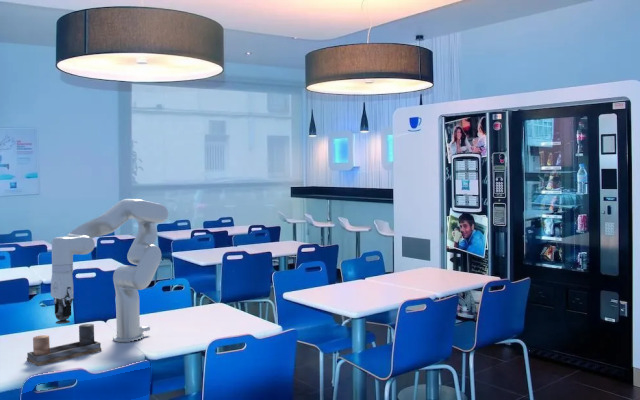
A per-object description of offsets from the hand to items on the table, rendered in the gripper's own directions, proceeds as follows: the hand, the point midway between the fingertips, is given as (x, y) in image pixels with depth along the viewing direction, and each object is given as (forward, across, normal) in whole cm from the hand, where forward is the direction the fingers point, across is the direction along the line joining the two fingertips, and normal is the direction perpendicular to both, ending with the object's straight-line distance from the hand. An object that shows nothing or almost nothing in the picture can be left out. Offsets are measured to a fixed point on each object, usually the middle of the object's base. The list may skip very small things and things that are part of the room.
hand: (63, 314), depth 236 cm
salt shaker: (+3, 0, 0) cm, 3 cm away
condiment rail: (+16, 0, +1) cm, 16 cm away
